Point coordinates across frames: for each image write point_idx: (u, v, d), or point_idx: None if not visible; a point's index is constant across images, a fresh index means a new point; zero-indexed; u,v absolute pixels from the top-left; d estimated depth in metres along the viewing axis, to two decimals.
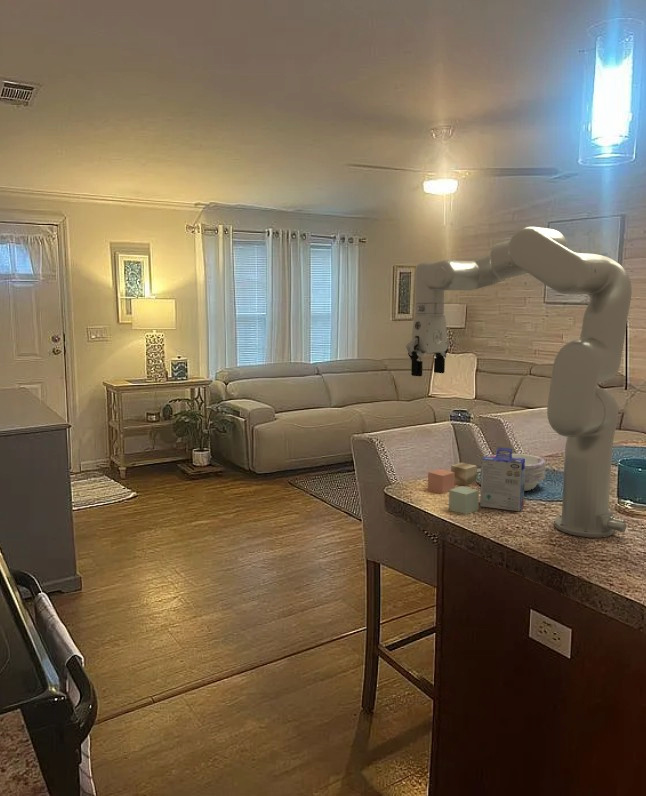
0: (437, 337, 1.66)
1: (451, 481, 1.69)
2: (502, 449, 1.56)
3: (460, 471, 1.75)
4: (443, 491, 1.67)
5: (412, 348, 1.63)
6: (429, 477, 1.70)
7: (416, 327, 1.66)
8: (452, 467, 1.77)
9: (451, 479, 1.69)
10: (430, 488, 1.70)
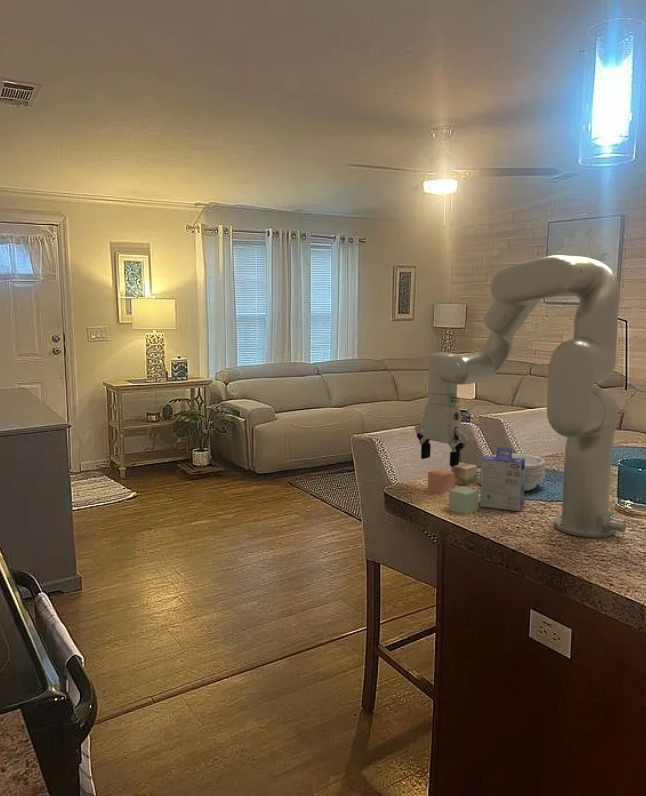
0: None
1: (451, 481, 1.69)
2: (502, 449, 1.56)
3: (460, 471, 1.75)
4: (443, 491, 1.67)
5: None
6: (429, 477, 1.70)
7: None
8: (452, 467, 1.77)
9: (451, 479, 1.69)
10: (430, 488, 1.70)
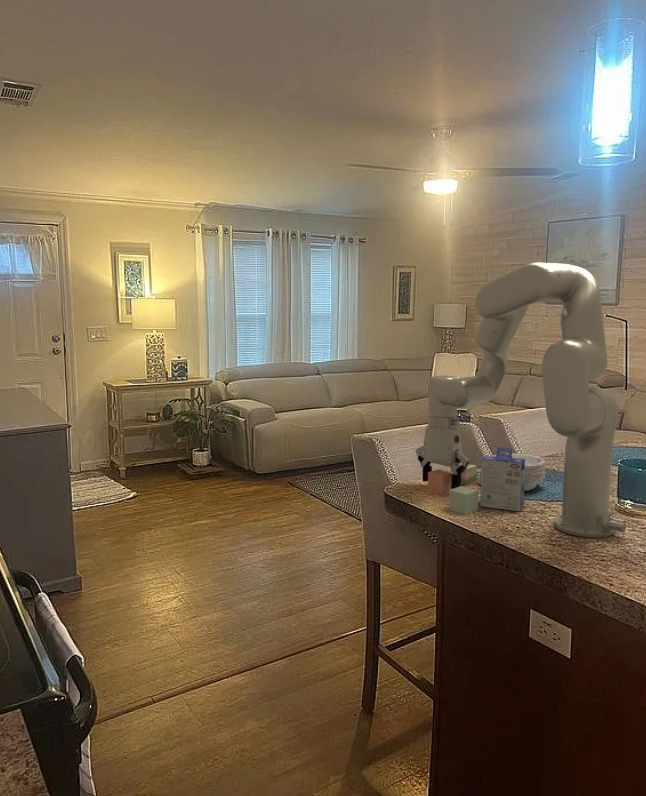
0: None
1: None
2: (502, 449, 1.56)
3: None
4: (443, 491, 1.67)
5: None
6: (429, 477, 1.70)
7: None
8: None
9: None
10: (430, 488, 1.70)
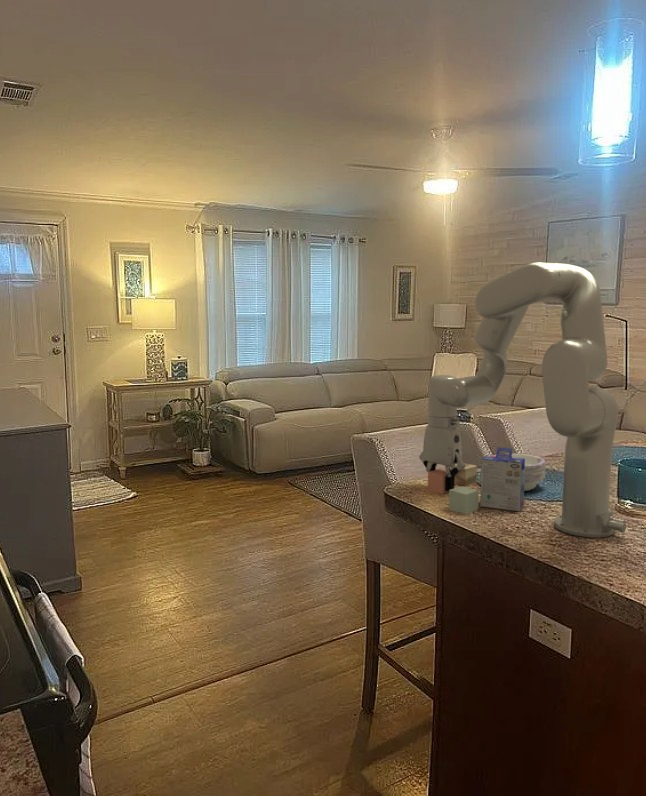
0: None
1: None
2: (502, 449, 1.56)
3: (460, 471, 1.75)
4: (443, 490, 1.67)
5: None
6: (429, 477, 1.70)
7: None
8: None
9: None
10: (430, 488, 1.70)
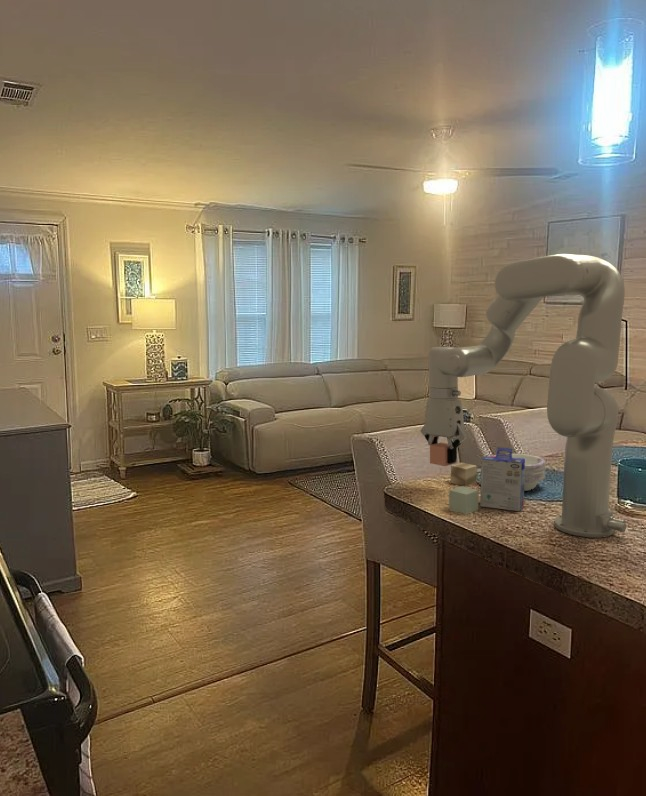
0: None
1: None
2: (502, 449, 1.56)
3: (460, 471, 1.75)
4: (445, 463, 1.66)
5: None
6: (431, 450, 1.69)
7: None
8: (452, 467, 1.77)
9: None
10: (432, 461, 1.69)
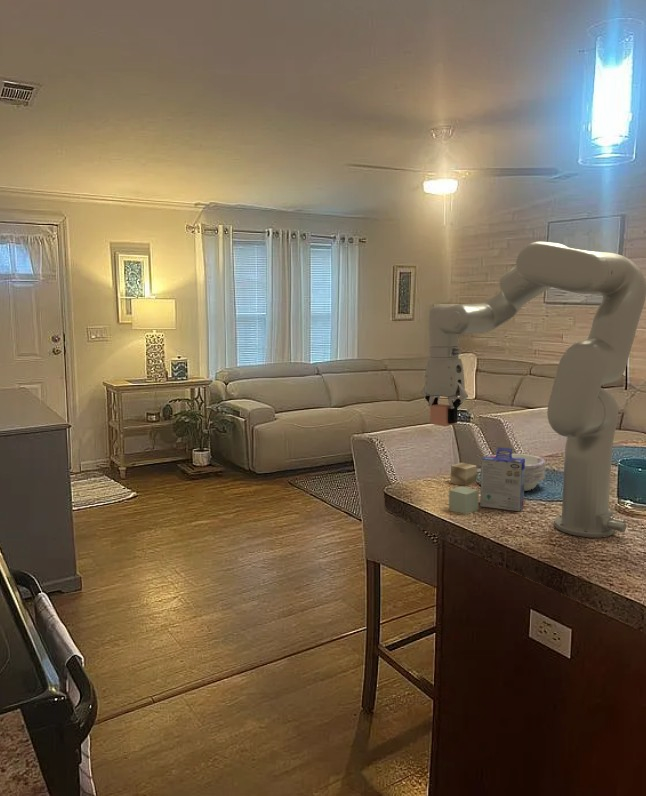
0: None
1: None
2: (502, 449, 1.56)
3: (460, 471, 1.75)
4: (446, 423, 1.64)
5: None
6: (431, 410, 1.67)
7: None
8: (452, 467, 1.77)
9: None
10: (433, 422, 1.67)
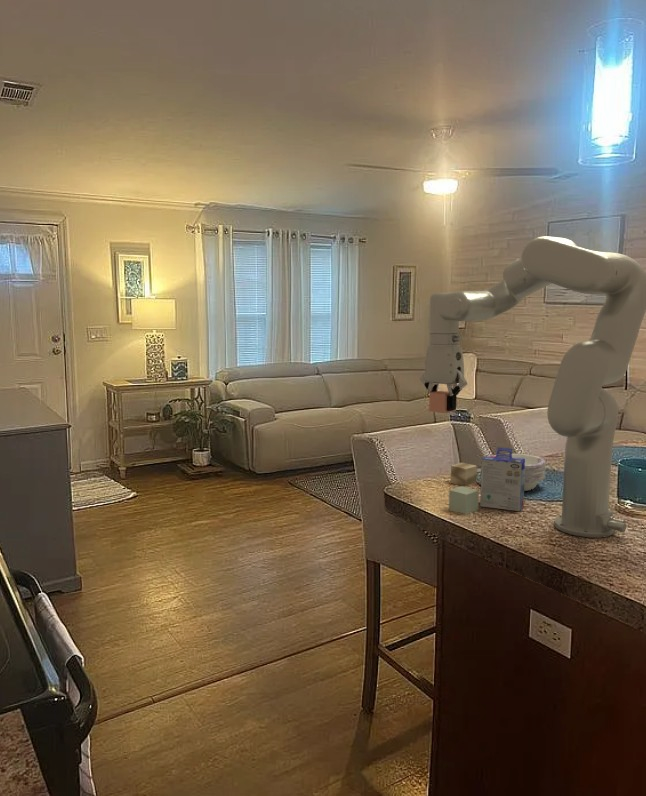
0: None
1: None
2: (502, 449, 1.56)
3: (460, 471, 1.75)
4: (445, 410, 1.64)
5: None
6: (430, 397, 1.67)
7: None
8: (452, 467, 1.77)
9: None
10: (431, 409, 1.67)
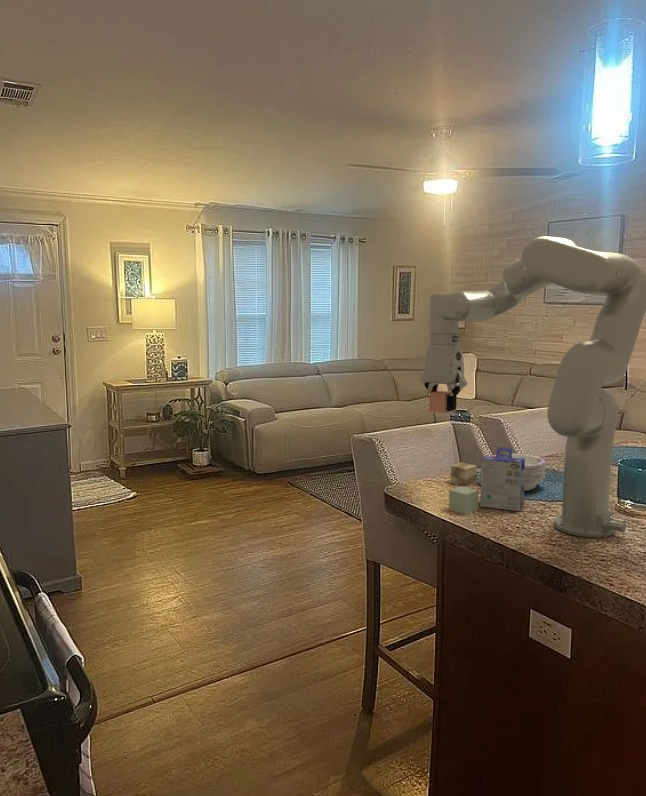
0: None
1: None
2: (502, 449, 1.56)
3: (460, 471, 1.75)
4: (445, 410, 1.64)
5: None
6: (430, 397, 1.67)
7: None
8: (452, 467, 1.77)
9: None
10: (431, 409, 1.67)
